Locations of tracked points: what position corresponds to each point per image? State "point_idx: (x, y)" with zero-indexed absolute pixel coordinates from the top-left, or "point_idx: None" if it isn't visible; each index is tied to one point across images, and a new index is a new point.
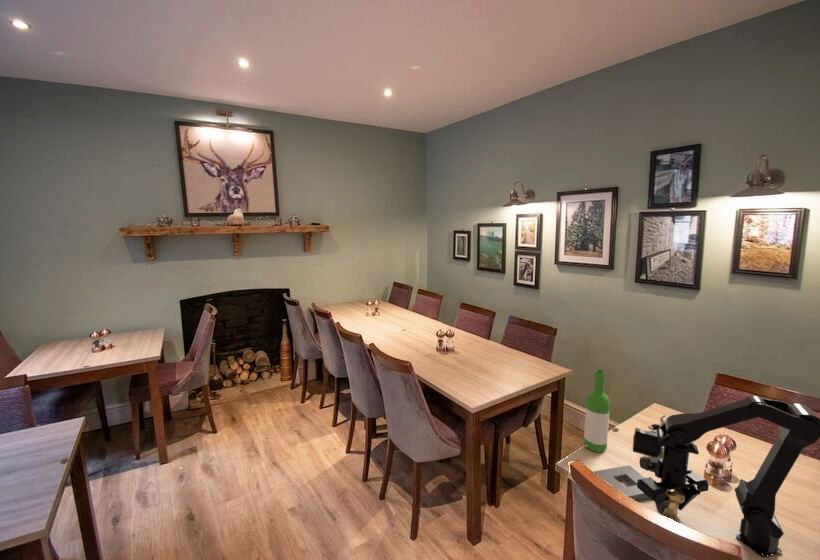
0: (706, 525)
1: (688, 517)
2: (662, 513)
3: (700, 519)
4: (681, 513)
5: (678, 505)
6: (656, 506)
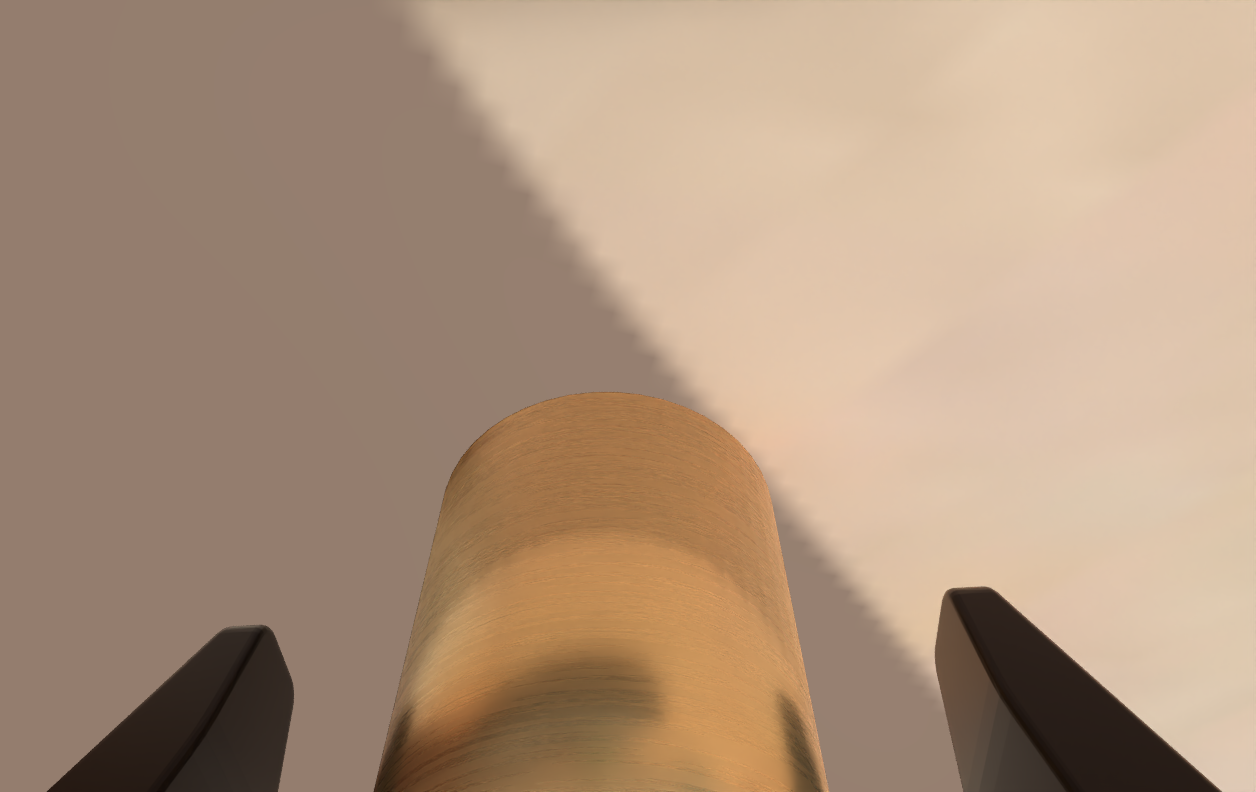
0: None
1: (1034, 613)
2: (281, 739)
3: (1230, 677)
4: (1003, 509)
5: (976, 692)
6: (88, 776)
